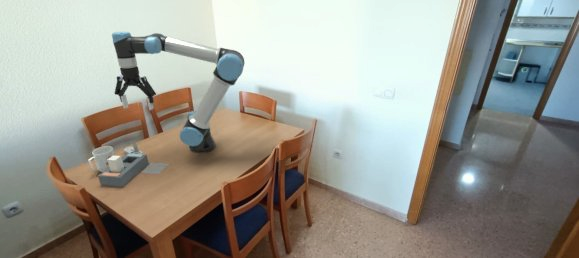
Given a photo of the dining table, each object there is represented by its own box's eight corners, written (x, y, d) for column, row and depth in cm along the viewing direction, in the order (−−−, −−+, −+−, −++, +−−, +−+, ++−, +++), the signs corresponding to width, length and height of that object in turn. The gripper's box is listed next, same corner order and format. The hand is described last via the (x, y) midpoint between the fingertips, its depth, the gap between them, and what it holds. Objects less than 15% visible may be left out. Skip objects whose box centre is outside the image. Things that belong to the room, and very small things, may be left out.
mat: (169, 164, 145) (168, 163, 145) (159, 175, 136) (158, 174, 136) (151, 163, 146) (151, 162, 146) (140, 173, 137) (140, 172, 137)
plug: (127, 176, 133) (120, 156, 128) (121, 181, 130) (115, 160, 125) (119, 176, 134) (113, 155, 129) (113, 180, 130) (107, 159, 125)
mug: (110, 162, 146) (104, 144, 141) (122, 166, 143) (116, 147, 139) (88, 174, 136) (81, 155, 131) (100, 178, 133) (93, 159, 128)
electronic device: (128, 134, 157) (141, 141, 149) (132, 149, 161) (145, 156, 153) (118, 138, 153) (131, 144, 145) (123, 153, 157) (136, 160, 149)
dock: (148, 164, 145) (146, 154, 142) (123, 188, 126) (119, 177, 123) (129, 162, 146) (127, 152, 143) (101, 186, 127) (97, 175, 125)
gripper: (158, 65, 129) (166, 107, 138) (109, 64, 131) (120, 104, 140) (149, 69, 122) (158, 112, 131) (98, 67, 125) (110, 109, 134)
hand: (138, 108), depth 136 cm, fingers open, 13 cm apart
